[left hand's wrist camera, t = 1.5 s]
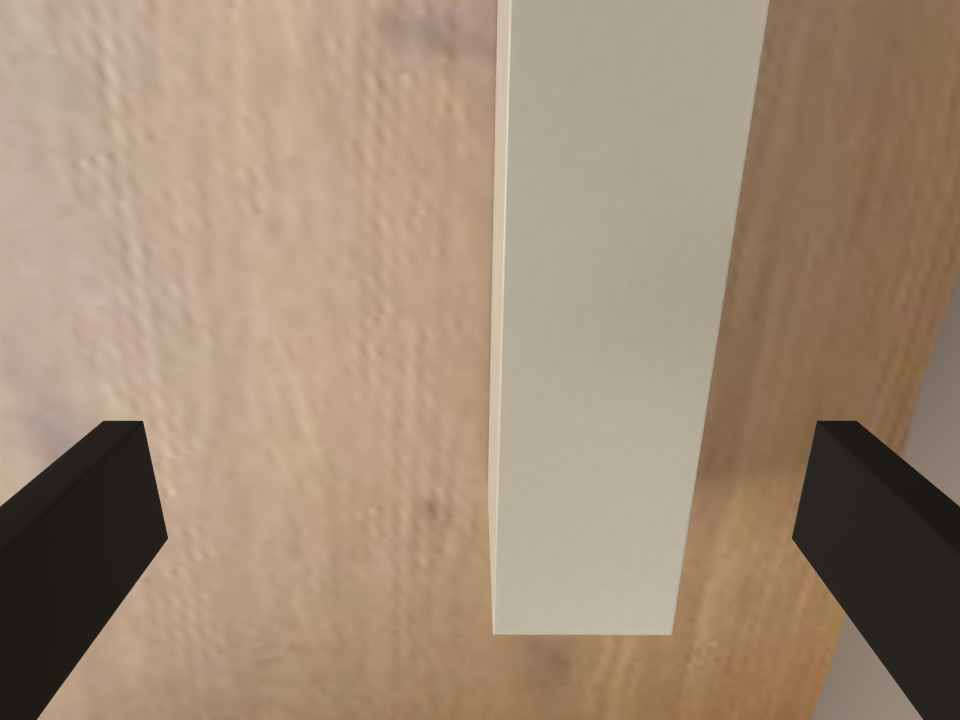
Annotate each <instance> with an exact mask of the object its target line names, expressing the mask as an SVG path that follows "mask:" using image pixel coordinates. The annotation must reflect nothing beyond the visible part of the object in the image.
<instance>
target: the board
mask: <svg viewBox="0 0 960 720" xmlns="http://www.w3.org/2000/svg"><path fill="white" fill-rule="evenodd" d="M769 5H770V0H498V11H497V61H496V111H495V160H494V210H493V260H492V309H491V359H490V409H489V458H488V508H489V535H490V563H491V591H492V619H493V633H494V634H513V635H672V632H673V626H674V619H675V613H676V607H677V600H678V594H679V587H680V581H681V574H682V568H683V561H684V555H685V548H686V542H687V535H688V529H689V522H690V516H691V510H692V503H693V497H694V490H695V484H696V477H697V471H698V464H699V458H700V451H701V445H702V438H703V432H704V425H705V419H706V413H707V406H708V400H709V393H710V387H711V380H712V374H713V367H714V361H715V354H716V348H717V341H718V335H719V328H720V322H721V316H722V309H723V303H724V296H725V290H726V283H727V277H728V270H729V264H730V257H731V251H732V244H733V238H734V231H735V225H736V219H737V212H738V206H739V199H740V193H741V186H742V180H743V173H744V167H745V160H746V154H747V147H748V141H749V134H750V128H751V122H752V115H753V109H754V102H755V96H756V89H757V83H758V76H759V70H760V63H761V57H762V50H763V44H764V37H765V31H766V25H767V18H768V12H769Z"/></svg>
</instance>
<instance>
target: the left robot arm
mask: <svg viewBox="0 0 960 720" xmlns="http://www.w3.org/2000/svg"><path fill="white" fill-rule="evenodd" d="M167 539H168V536H167V531H166V526H165V522H164V517H163V512H162V508H161V503H160V498H159V494H158V489H157V484H156V480H155V475H154V470H153V466H152V461H151V456H150V452H149V447H148V442H147V438H146V433H145V428H144V424H143V421H103V422H102V423H100V424H99V425H98V426H97V427H96V428H94V429H93V430H92V431H91V432H90V433H88V434H87V435H86V436H85V437H84V438H82V439H81V440H80V441H79V442H78V443H76V444H75V445H74V446H73V447H72V448H70V449H69V450H68V451H67V452H66V453H64V454H63V455H62V456H61V457H59V458H58V459H57V460H56V461H55V462H53V463H52V464H51V465H50V466H49V467H47V468H46V469H45V470H44V471H43V472H41V473H40V474H39V475H38V476H37V477H35V478H34V479H33V480H32V481H31V482H29V483H28V484H27V485H26V486H25V487H23V488H22V489H21V490H20V491H19V492H17V493H16V494H15V495H14V496H13V497H11V498H10V499H9V500H8V501H7V502H5V503H4V504H3V505H2V506H1V507H0V720H37V718H38V717H39V716H40V714H41V713H42V712H43V710H44V709H45V707H46V706H47V705H48V703H49V702H50V700H51V699H52V698H53V696H54V695H55V694H56V692H57V691H58V689H59V688H60V687H61V685H62V684H63V683H64V681H65V680H66V678H67V677H68V676H69V674H70V673H71V672H72V670H73V669H74V667H75V666H76V665H77V663H78V662H79V660H80V659H81V658H82V656H83V655H84V654H85V652H86V651H87V649H88V648H89V647H90V645H91V644H92V643H93V641H94V640H95V638H96V637H97V636H98V634H99V633H100V632H101V630H102V629H103V627H104V626H105V625H106V623H107V622H108V620H109V619H110V618H111V616H112V615H113V614H114V612H115V611H116V609H117V608H118V607H119V605H120V604H121V603H122V601H123V600H124V598H125V597H126V596H127V594H128V593H129V592H130V590H131V589H132V587H133V586H134V585H135V583H136V582H137V580H138V579H139V578H140V576H141V575H142V574H143V572H144V571H145V569H146V568H147V567H148V565H149V564H150V563H151V561H152V560H153V558H154V557H155V556H156V554H157V553H158V552H159V550H160V549H161V547H162V546H163V545H164V543H165V542H166V540H167ZM792 539H793V540H794V542H795V543H796V545H797V546H798V547H799V549H800V550H801V552H802V553H803V554H804V556H805V557H806V558H807V560H808V561H809V563H810V564H811V565H812V567H813V568H814V569H815V571H816V572H817V574H818V575H819V576H820V578H821V579H822V580H823V582H824V583H825V585H826V586H827V587H828V589H829V590H830V592H831V593H832V594H833V596H834V597H835V598H836V600H837V601H838V603H839V604H840V605H841V607H842V608H843V609H844V611H845V612H846V614H847V615H848V616H849V618H850V619H851V620H852V622H853V623H854V625H855V626H856V627H857V629H858V630H859V632H860V633H861V634H862V636H863V637H864V638H865V640H866V641H867V643H868V644H869V645H870V647H871V648H872V649H873V651H874V652H875V654H876V655H877V656H878V658H879V659H880V660H881V662H882V663H883V665H884V666H885V667H886V669H887V670H888V672H889V673H890V674H891V676H892V677H893V678H894V680H895V681H896V683H897V684H898V685H899V687H900V688H901V689H902V691H903V692H904V694H905V695H906V696H907V698H908V699H909V700H910V702H911V703H912V705H913V706H914V707H915V709H916V710H917V712H918V713H919V714H920V716H921V717H922V718H923V720H960V507H959V506H958V505H957V504H956V503H955V502H953V501H952V500H951V499H950V498H949V497H947V496H946V495H945V494H944V493H943V492H941V491H940V490H939V489H938V488H937V487H935V486H934V485H933V484H932V483H930V482H929V481H928V480H927V479H926V478H925V477H923V476H922V475H921V474H920V473H919V472H917V471H916V470H915V469H914V468H913V467H911V466H910V465H909V464H908V463H907V462H905V461H904V460H903V459H902V458H901V457H899V456H898V455H897V454H896V453H894V452H893V451H892V450H891V449H890V448H888V447H887V446H886V445H885V444H884V443H882V442H881V441H880V440H879V439H878V438H876V437H875V436H874V435H873V434H872V433H870V432H869V431H868V430H867V429H866V428H864V427H863V426H862V425H861V424H860V423H858V422H857V421H817V424H816V428H815V433H814V438H813V442H812V447H811V452H810V456H809V461H808V466H807V470H806V475H805V480H804V484H803V489H802V494H801V498H800V503H799V508H798V512H797V517H796V522H795V526H794V531H793V536H792Z"/></svg>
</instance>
